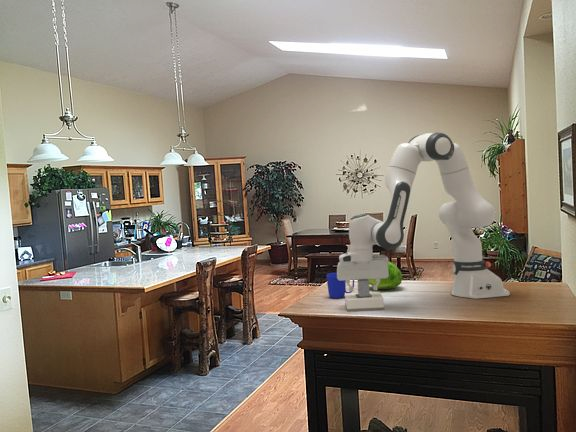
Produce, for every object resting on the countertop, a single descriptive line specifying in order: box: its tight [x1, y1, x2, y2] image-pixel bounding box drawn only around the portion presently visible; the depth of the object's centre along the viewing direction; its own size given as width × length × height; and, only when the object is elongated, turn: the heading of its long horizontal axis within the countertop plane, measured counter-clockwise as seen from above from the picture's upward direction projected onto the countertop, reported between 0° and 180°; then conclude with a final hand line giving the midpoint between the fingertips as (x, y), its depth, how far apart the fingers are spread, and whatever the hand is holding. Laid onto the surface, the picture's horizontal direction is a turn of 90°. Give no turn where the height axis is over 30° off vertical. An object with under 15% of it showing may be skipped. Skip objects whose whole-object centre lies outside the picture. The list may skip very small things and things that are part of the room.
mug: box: [325, 272, 355, 299], centre depth 220 cm, size 8×12×10 cm
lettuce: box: [368, 261, 403, 290], centre depth 232 cm, size 15×20×14 cm
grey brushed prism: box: [357, 279, 370, 298], centre depth 199 cm, size 4×5×10 cm
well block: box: [344, 291, 385, 313], centre depth 200 cm, size 14×12×4 cm
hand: (363, 290), depth 199 cm, fingers open, 8 cm apart
